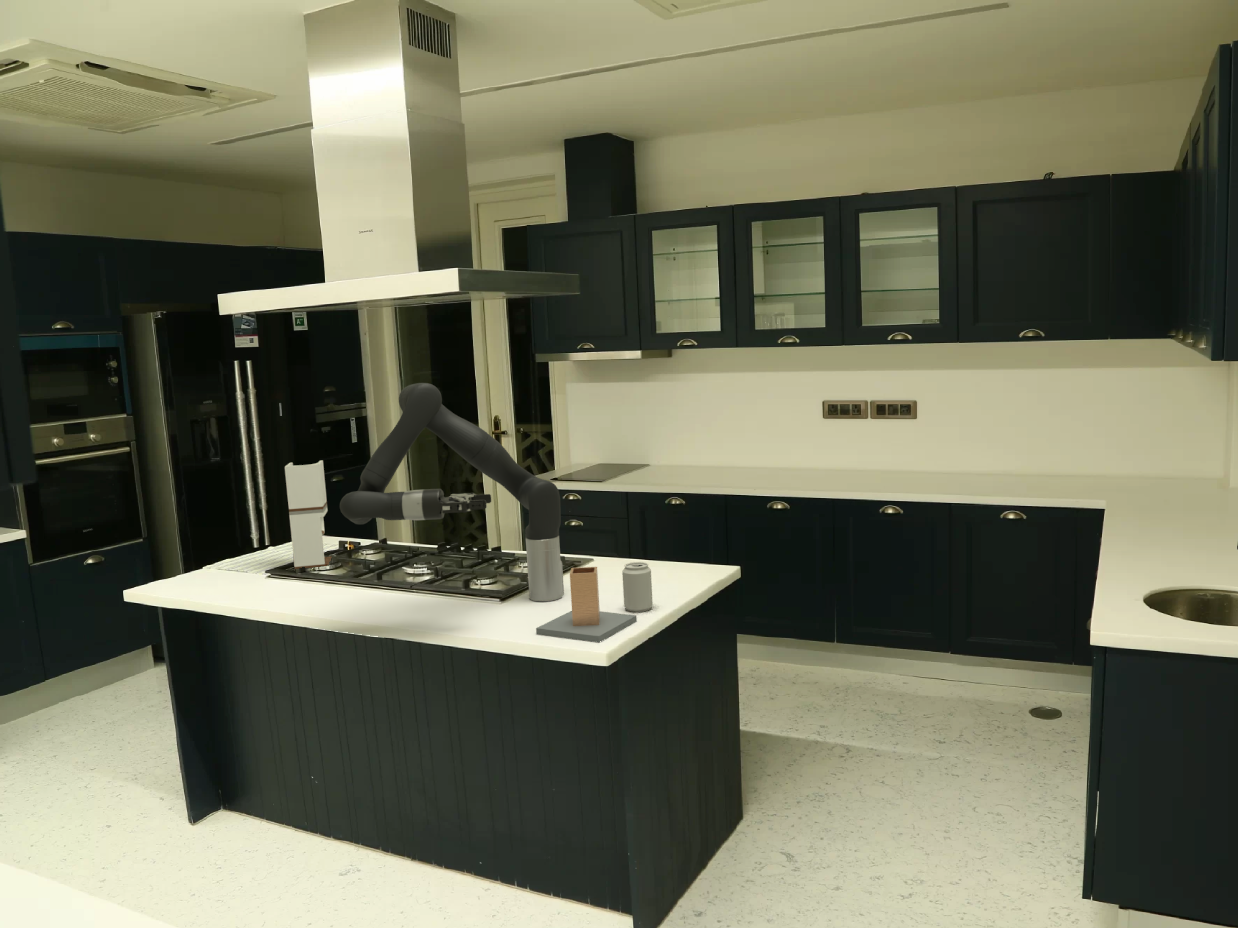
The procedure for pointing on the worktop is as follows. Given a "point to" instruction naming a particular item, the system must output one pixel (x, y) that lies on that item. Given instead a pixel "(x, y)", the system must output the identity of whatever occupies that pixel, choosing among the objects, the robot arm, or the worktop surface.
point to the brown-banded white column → (307, 513)
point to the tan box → (585, 596)
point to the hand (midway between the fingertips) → (488, 501)
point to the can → (637, 587)
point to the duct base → (587, 627)
